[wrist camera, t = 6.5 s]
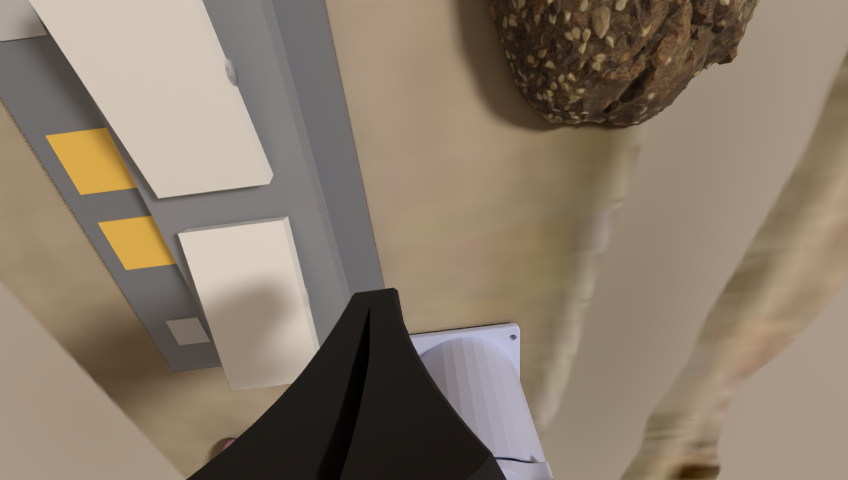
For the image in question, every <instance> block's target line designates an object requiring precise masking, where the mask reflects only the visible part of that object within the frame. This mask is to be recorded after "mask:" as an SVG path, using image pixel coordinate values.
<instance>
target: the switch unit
mask: <svg viewBox="0 0 848 480" xmlns="http://www.w3.org/2000/svg"><path fill="white" fill-rule="evenodd" d="M202 1H203V3H204V6H205V8H206V11H207V13H208V16H209V18H210V21H211V23H212V26H213V28H214V30H215V33H216V35H217V38H218V40H219V43H220V45H221V48H222V50H223V52H224V55H225V57H226V59H227V58H228V59H230V60H231V61H232V63H233V64H234V66H235V68H236V71H237V74H238V86H237V87H238V89H239V92H240V94H241V97H242V99H243V101H244V104H245V106H246V109H247V111H248V114H249V116H250V119H251V121H252V123H253V126H254V128H255V131H256V133H257V136H258V138H259V141H260V143H261V145H262V148H263V150H264V153H265V155H266V158H267V160H268V163H269V165H270V168H271V170H272V172H273V177H272V179H271V181H270V183H269V184H265V185H258V186H250V187H242V188H234V189H227V190H219V191H211V192H203V193H196V194H188V195H180V196H172V197H165V198H158V197H157V195H156V194H155V192H154V191H153V189H152V188H151V186H150V185H149V183H148V181H147V180H146V178H145V177H144V175H143V174H142V172H141V171H140V169H139V168H138V166H137V165H136V163H135V162H134V160H133V159H132V157H131V156H130V154H129V152H128V151H127V149H126V148H125V146H124V145H123V143H122V142H121V140H120V139H119V137H118V136H117V134H116V133H115V131H114V130H113V128H112V127H111V125H110V123H109V122H108V120H107V119H106V117H105V116H104V114H103V113H102V111H101V110H100V108H99V107H98V105H97V104H96V102H95V101H94V99H93V98H92V96H91V94H90V93H89V91H88V90H87V88H86V87H85V85H84V84H83V82H82V81H81V79H80V78H79V76H78V75H77V73H76V72H75V70H74V69H73V67H72V65H71V64H70V62H69V61H68V59H67V58H66V56H65V55H64V53H63V52H62V50H61V49H60V47H59V46H58V44H57V43H56V41H55V40H54V38H53V36H52V35H51V33H50V32H49V30H48V29H47V27H46V26H45V24H44V23H43V21H42V20H41V18H40V17H39V15H38V14H37V12H36V11H35V9H34V7H33V6H32V4H31V3H30V1H29V0H0V97H1V99H2V100H3V102H4V104H5V105H6V107H7V108H8V110H9V112H10V113H11V115H12V116H13V118H14V120H15V121H16V123H17V124H18V126H19V127H20V129H21V131H22V132H23V134H24V135H25V137H26V139H27V140H28V142H29V143H30V145H31V147H32V148H33V150H34V151H35V153H36V155H37V156H38V158H39V159H40V161H41V163H42V164H43V166H44V167H45V169H46V170H47V172H48V174H49V175H50V177H51V178H52V180H53V182H54V183H55V185H56V186H57V188H58V190H59V191H60V193H61V194H62V196H63V198H64V199H65V201H66V202H67V204H68V205H69V207H70V209H71V210H72V212H73V213H74V215H75V217H76V218H77V220H78V221H79V223H80V225H81V226H82V228H83V229H84V231H85V233H86V234H87V236H88V237H89V239H90V241H91V242H92V244H93V245H94V247H95V248H96V250H97V252H98V253H99V255H100V256H101V258H102V260H103V261H104V263H105V264H106V266H107V268H108V269H109V271H110V272H111V274H112V276H113V277H114V279H115V280H116V282H117V283H118V285H119V287H120V288H121V290H122V291H123V293H124V295H125V296H126V298H127V299H128V301H129V303H130V304H131V306H132V307H133V309H134V311H135V312H136V314H137V315H138V317H139V319H140V320H141V322H142V323H143V325H144V326H145V328H146V330H147V331H148V333H149V334H150V336H151V338H152V339H153V341H154V342H155V344H156V346H157V347H158V349H159V350H160V352H161V354H162V355H163V357H164V358H165V360H166V361H167V363H168V365H169V366H170V368H171V369H172V371H173V372H176V371H185V370H193V369H201V368H210V367H218V366H222V363H221V360H220V357H219V354H218V351H217V348H216V345H215V342H214V339H213V336H212V333H211V330H210V327H209V324H208V322H207V319H206V316H205V313H204V310H203V307H202V304H201V301H200V298H199V295H198V292H197V289H196V286H195V283H194V280H193V277H192V274H191V271H190V268H189V265H188V262H187V259H186V256H185V253H184V250H183V247H182V244H181V241H180V239H179V236H178V233H180V232H182V231H184V230H186V229H190V228H198V227H206V226H214V225H222V224H230V223H237V222H245V221H253V220H261V219H269V218H277V217H285V216H288V219H289V223H290V227H291V231H292V235H293V239H294V244H295V248H296V252H297V256H298V260H299V264H300V268H301V273H302V277H303V281H304V285H305V289H308V290H309V292H310V296H311V305H310V310H311V314H312V318H313V322H314V326H315V331H316V335H317V339H318V343H319V347H321V346H322V344H323V343H324V341H325V340H326V338H327V337H328V335H329V334H330V332H331V331H332V329H333V328H334V326H335V324H336V323H337V321H338V320H339V318H340V316H341V315H342V313H343V311H344V310H345V308H346V306H347V304H348V303H349V301H350V299H351V297H352V296H353V295H354V293H357V292H365V291H372V290H380V289H385V286H384V281H383V277H382V272H381V267H380V262H379V257H378V253H377V248H376V243H375V238H374V233H373V229H372V224H371V219H370V214H369V209H368V205H367V200H366V195H365V190H364V185H363V180H362V176H361V171H360V166H359V161H358V156H357V152H356V147H355V142H354V137H353V132H352V128H351V123H350V118H349V113H348V108H347V104H346V99H345V94H344V89H343V84H342V80H341V75H340V70H339V65H338V60H337V56H336V51H335V46H334V41H333V36H332V32H331V27H330V22H329V17H328V12H327V8H326V3H325V0H202Z"/></svg>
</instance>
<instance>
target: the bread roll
mask: <svg viewBox="0 0 848 480" xmlns="http://www.w3.org/2000/svg"><path fill="white" fill-rule="evenodd" d="M758 3H759V0H491V4H490V10H489V13H490V16H491V20H493V22H494V24H495V26H496V28H497V30H498V32H499V34H500V41H501V43H502V44H503V46H504V47H505V52H506V55H507V58H508V64H509V66H510V68H511V70H512V73H513V76H514V79H515V83H516V87H517V88H518V90H519V92H520V93H521V94H522V95H523V96H524V98H525V99H526V100H527V102H528V103H529V104H530V105H531V106H532V107H534V108H536V109H537V110H538V111H539V112H540V113H541V115H542V116H543V117H544V118H545V119H546V120H547V121H549V122H551V123H552V124H554V123H558V122H565V123H567V124H568V125H575V124H577V123H580V122H582V121H594V122H597V123H601V122H603V121H608V122H611V123H613V124H615V125H621V126H630V125H639V124H641V123H643V122H645V121H647V120H648V119H650V118H652V117H653V116H655V115H657V114H658V113H659V112H661V111H663V110H664V109H665V108H666V107H667V106H670V105H671V104H672V103H673V101H674V100H675V99H676V97H677V96H678V95H679V94H680V93H681V92H682V91H683V90H684V89H685V88H686V87H687V85H688V83H689V81H690V80H691V79H692V78H693V77H695V76H697V75H698V74H699V73H700V72H701V71H702V70H703V68H705V69H708V68H709V67H710V66H711V65H712V64H713V63H718V64H725V63H730V62H731V61H733V59H734V58H735V57H736V56H737V54H738V53H739V49H738V44H739V42H740V40H741V39H742V37H743V36H744V33H745V29H746V26H747V23H748V22H749V21H750V19H751V18H752V17H753V12H754V10H755V8H756V6H757V5H758Z"/></svg>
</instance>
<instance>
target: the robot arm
mask: <svg viewBox="0 0 848 480" xmlns="http://www.w3.org/2000/svg"><path fill="white" fill-rule="evenodd" d="M511 335H514V336H511ZM187 480H554V479H553V476H552V473H551V470H550V467H549V464H548V462H546V461H545V457H544V454H543V451H542V448H541V445H540V442H539V439H538V436H537V433H536V430H535V426H534V423H533V420H532V417H531V414H530V411H529V408H528V405H527V402H526V399H525V396H524V393H523V390H522V386H521V383H520V329H519V326H518V325H517V324H515V323H508V324H500V325H492V326H483V327H475V328H467V329H458V330H450V331H442V332H434V333H425V334H417V335H409V334H408V331H407V329H406V327H405V324H404V321H403V316H402V310H401V305H400V300H399V295H398V290H396V289H395V288H388V289H380V290H372V291H365V292H357V293H354V295H353V296H352V297H351V299H350V301H349V303H348V304H347V306H346V308H345V310H344V311H343V313H342V315H341V316H340V318H339V320H338V321H337V323H336V324H335V326H334V328H333V329H332V331H331V332H330V334H329V335H328V337H327V338H326V340H325V341H324V343H323V344H322V346H321V347H320V348H319V350H318V351H317V353H316V354H315V355H314V357H313V358H312V359H311V361H310V362H309V363H308V365H307V366H306V367H305V369H304V370H303V371H302V372H301V374H300V375H299V376H298V377H297V378H296V380H295V381H294V382H293V383H292V384H291V385H290V387H289V388H288V389H287V390H286V391H285V392H284V393H283V395H282V396H281V397H280V398H279V399H278V400H277V401H276V402H275V403H274V404H273V405H272V406H271V407H270V408H269V409H268V410H267V411H266V412H265V413H264V414H263V415H262V416H261V417H260V418H259V419H258V420H257V421H256V422H255V423H254V424H253V425H252V426H251V427H250V428H248V429H247V430H246V431H245V432H244V433H243V434H242V435H241V436H240V437H239V438H237V439H236V440H235V441H234V442H233V443H232V444H230V445H229V446H228V447H227V448H226V449H225V450H223V451H222V452H221V453H220V454H219V455H217V456H216V457H215V458H214V459H212V460H211V461H210V462H209V463H207V464H206V465H205V466H203V467H202V468H201V469H199V470H198V471H197V472H196V473H194V474H193V475H192V476H190V477H189V478H188V479H187Z"/></svg>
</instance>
